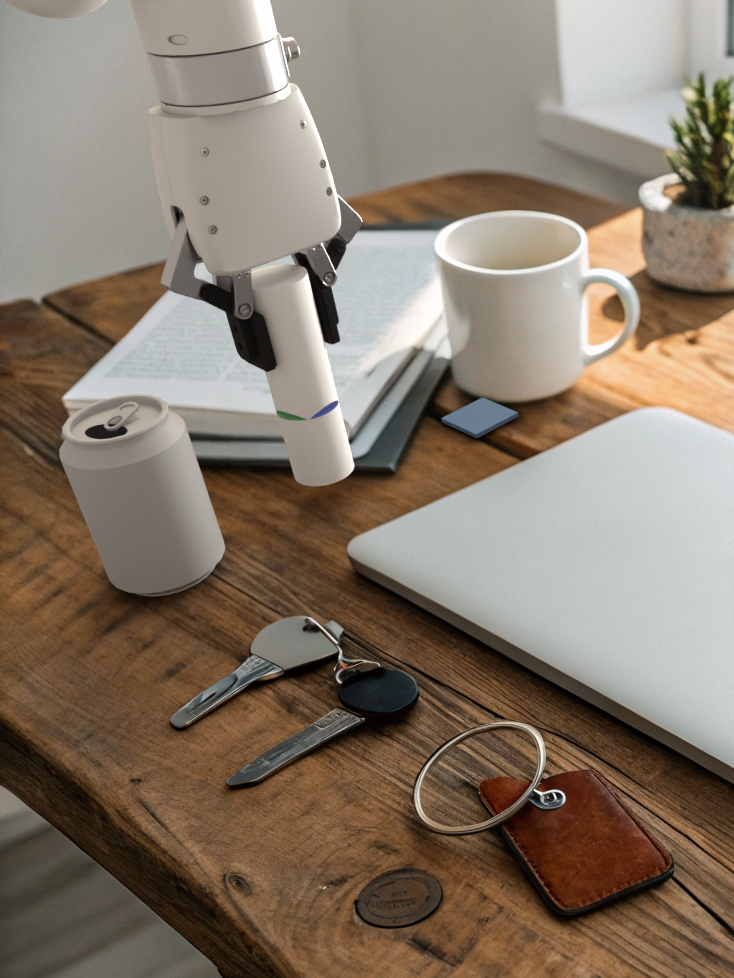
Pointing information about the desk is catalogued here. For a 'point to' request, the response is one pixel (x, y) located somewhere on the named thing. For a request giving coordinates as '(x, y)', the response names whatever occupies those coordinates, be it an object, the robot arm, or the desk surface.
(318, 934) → the desk surface
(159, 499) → the can
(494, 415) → the tile
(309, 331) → the tube
